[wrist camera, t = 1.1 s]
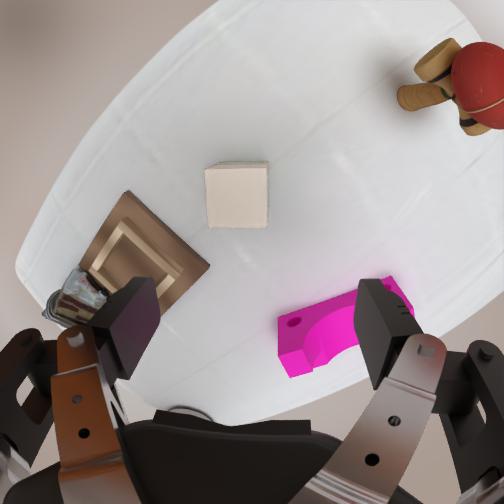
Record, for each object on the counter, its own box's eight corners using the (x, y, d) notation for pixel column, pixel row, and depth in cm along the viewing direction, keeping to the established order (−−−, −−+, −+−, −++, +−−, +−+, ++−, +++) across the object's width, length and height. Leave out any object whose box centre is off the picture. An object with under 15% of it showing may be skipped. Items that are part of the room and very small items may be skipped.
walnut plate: (151, 323, 38) (145, 335, 36) (83, 261, 35) (72, 269, 33) (210, 265, 34) (205, 275, 32) (128, 190, 31) (117, 195, 29)
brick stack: (268, 208, 31) (266, 228, 25) (222, 208, 31) (207, 227, 25) (268, 161, 29) (266, 168, 23) (220, 162, 30) (204, 169, 23)
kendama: (365, 75, 25) (459, 24, 8) (409, 59, 23) (514, 15, 6) (398, 140, 27) (514, 158, 10) (439, 120, 25) (558, 128, 9)
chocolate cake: (142, 318, 35) (56, 305, 26) (121, 347, 37) (43, 339, 28) (125, 267, 41) (53, 248, 32) (107, 297, 43) (40, 283, 34)
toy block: (294, 350, 38) (296, 390, 31) (278, 316, 36) (277, 356, 29) (398, 313, 35) (417, 348, 28) (390, 274, 33) (413, 307, 26)
